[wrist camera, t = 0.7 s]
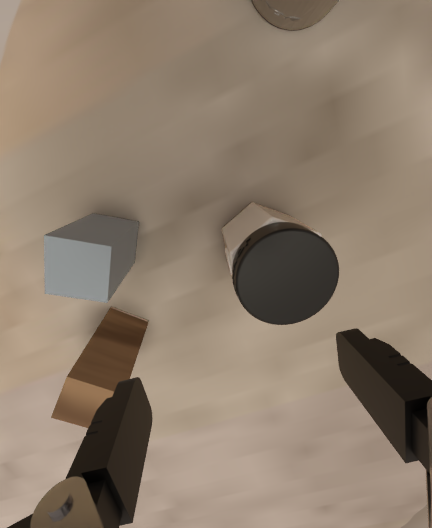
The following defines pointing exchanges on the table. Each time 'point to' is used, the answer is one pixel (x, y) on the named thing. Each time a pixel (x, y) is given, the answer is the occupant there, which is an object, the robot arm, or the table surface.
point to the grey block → (89, 257)
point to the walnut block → (101, 367)
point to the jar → (279, 265)
